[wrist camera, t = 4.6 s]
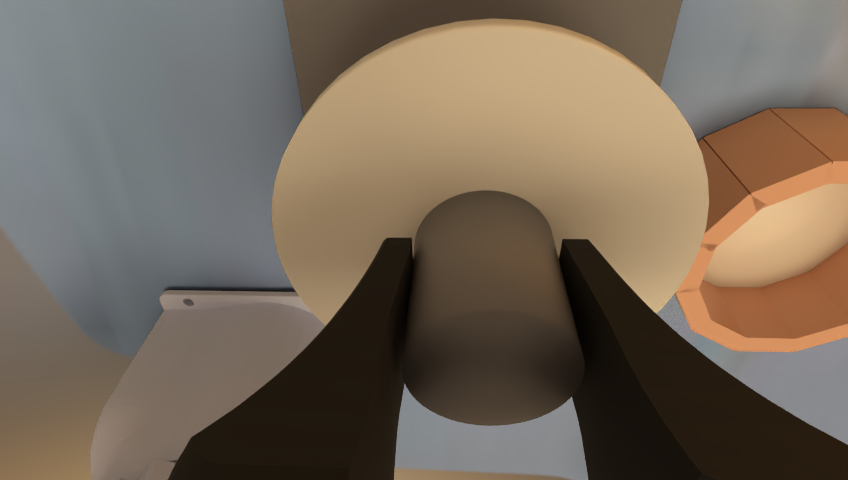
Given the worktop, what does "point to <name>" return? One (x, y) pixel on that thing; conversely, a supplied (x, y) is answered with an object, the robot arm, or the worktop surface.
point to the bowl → (773, 233)
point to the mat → (446, 3)
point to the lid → (490, 201)
